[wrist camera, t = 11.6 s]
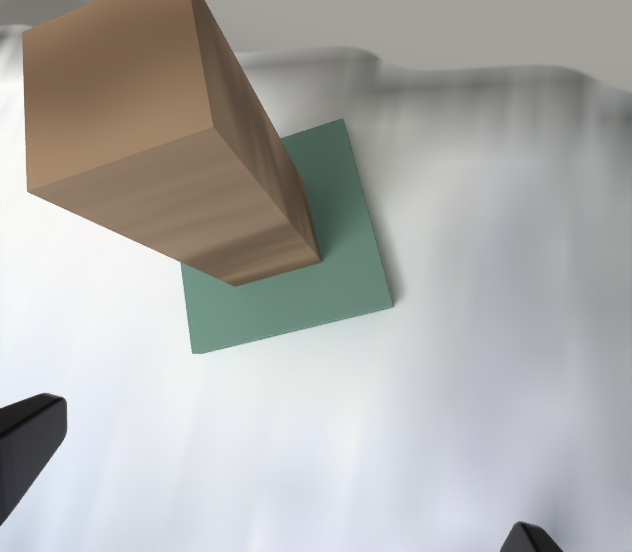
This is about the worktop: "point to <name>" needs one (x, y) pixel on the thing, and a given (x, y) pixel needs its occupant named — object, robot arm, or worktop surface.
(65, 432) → the robot arm
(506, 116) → the worktop surface
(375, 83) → the worktop surface
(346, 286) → the green mat
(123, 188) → the walnut block
